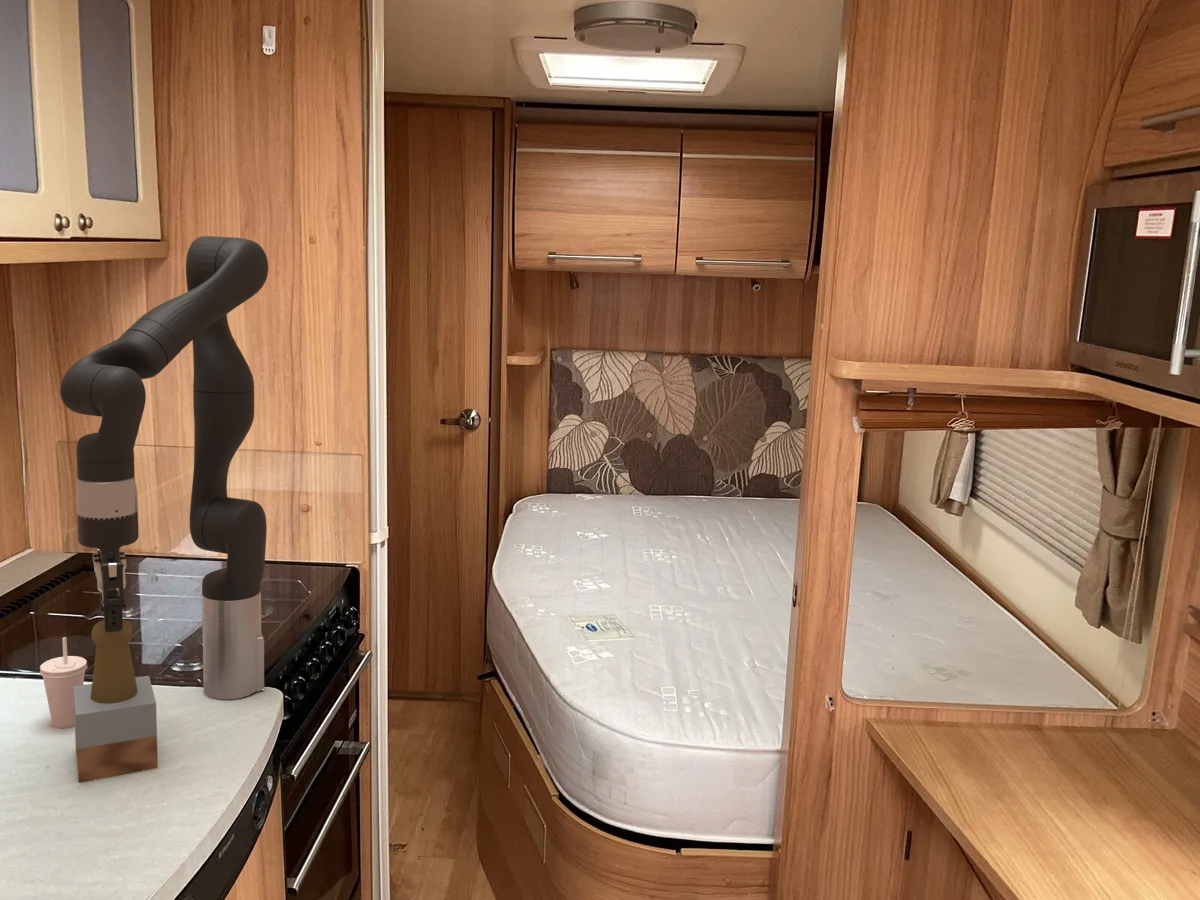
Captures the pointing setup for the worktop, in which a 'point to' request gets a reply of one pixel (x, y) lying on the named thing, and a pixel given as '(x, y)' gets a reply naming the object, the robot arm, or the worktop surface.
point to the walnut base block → (116, 758)
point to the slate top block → (114, 716)
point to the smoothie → (62, 685)
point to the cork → (113, 665)
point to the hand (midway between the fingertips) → (111, 620)
